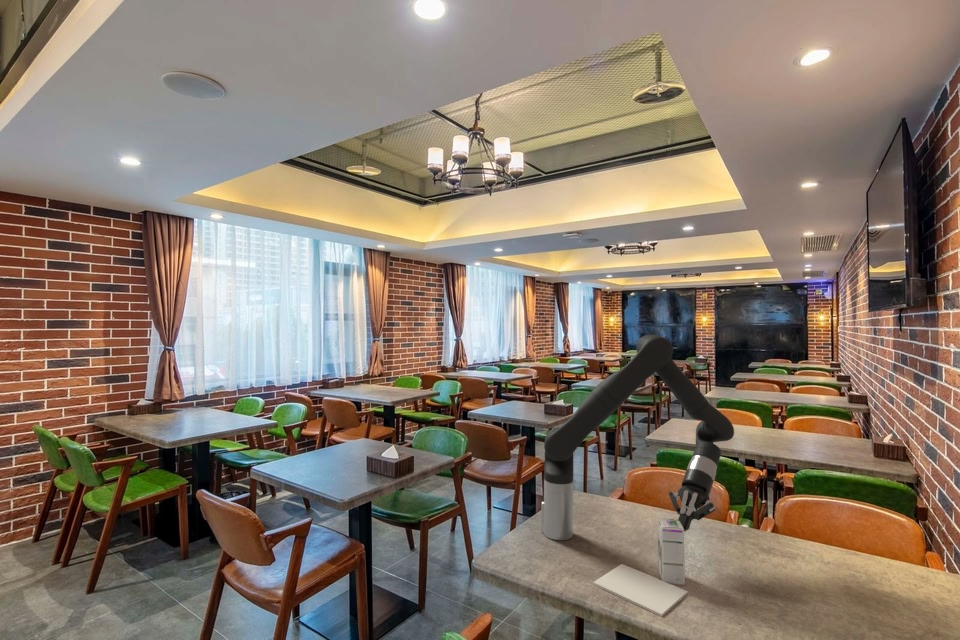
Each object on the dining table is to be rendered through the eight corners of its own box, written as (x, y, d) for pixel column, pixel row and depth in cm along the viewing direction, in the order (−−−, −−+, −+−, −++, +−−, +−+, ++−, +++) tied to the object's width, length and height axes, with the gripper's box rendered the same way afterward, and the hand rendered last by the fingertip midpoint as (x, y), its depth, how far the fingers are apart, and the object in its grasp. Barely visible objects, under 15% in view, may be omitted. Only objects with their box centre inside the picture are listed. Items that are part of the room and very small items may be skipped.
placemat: (593, 584, 118) (593, 582, 118) (621, 566, 127) (621, 563, 127) (661, 616, 104) (661, 614, 104) (687, 593, 114) (687, 591, 114)
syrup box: (685, 585, 118) (685, 528, 118) (661, 582, 119) (661, 525, 119) (680, 574, 123) (680, 519, 124) (657, 571, 124) (657, 517, 125)
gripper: (673, 463, 138) (654, 514, 129) (720, 473, 128) (703, 530, 119) (681, 477, 141) (662, 528, 133) (727, 488, 132) (710, 544, 123)
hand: (681, 529), depth 126 cm, fingers closed
